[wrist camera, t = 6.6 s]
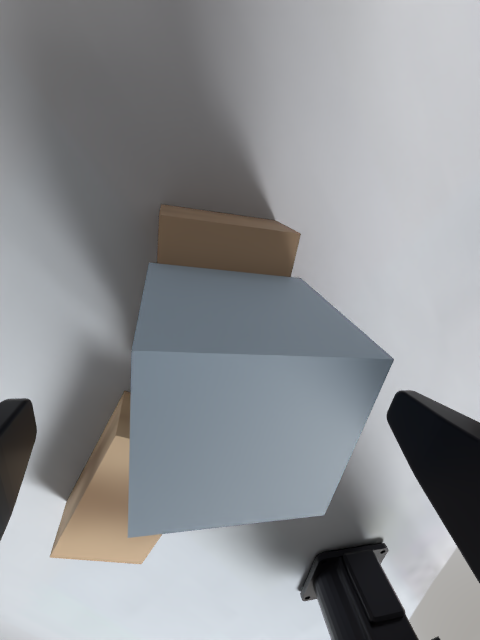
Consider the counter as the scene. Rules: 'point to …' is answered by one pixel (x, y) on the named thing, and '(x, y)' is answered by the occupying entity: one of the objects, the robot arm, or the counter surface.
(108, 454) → the brick
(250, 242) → the base brick
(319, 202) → the counter surface
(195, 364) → the cube
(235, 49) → the counter surface
